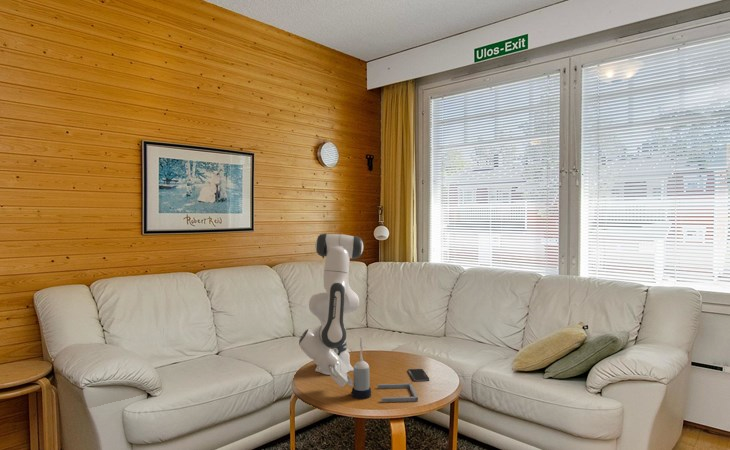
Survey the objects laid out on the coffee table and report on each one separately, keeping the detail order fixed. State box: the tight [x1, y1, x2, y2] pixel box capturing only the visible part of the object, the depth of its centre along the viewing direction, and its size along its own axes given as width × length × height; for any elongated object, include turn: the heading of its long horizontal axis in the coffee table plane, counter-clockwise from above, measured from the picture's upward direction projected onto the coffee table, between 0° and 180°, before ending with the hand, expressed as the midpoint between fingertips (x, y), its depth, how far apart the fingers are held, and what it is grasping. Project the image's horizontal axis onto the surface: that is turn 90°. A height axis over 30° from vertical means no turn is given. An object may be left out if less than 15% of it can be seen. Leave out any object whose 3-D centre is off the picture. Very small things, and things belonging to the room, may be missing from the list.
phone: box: [407, 368, 430, 382], centre depth 218 cm, size 8×1×15 cm
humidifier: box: [350, 336, 372, 400], centre depth 194 cm, size 8×8×25 cm
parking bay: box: [377, 383, 419, 403], centre depth 195 cm, size 16×15×2 cm
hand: (352, 384), depth 193 cm, fingers closed, pressing on humidifier
